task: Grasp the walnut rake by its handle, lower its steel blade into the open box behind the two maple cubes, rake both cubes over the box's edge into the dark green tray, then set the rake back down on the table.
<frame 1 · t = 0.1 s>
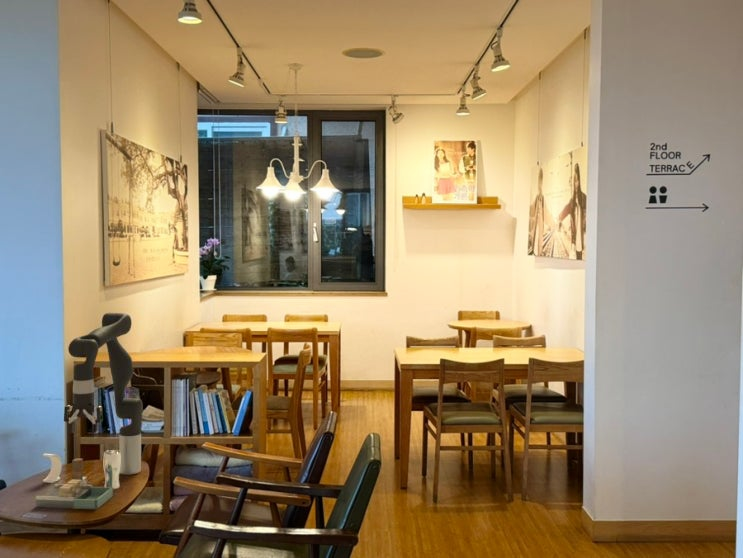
hand: (83, 432, 265), 29 cm above the table, fingers open, 8 cm apart
maple cube B: (66, 496, 270), point 3 cm above the table, touching open box
headphone stand: (52, 480, 297), on the table
beer glass: (112, 487, 290), on the table
chip tray: (94, 502, 272), on the table
rake tool: (77, 487, 289), on the table
open box: (64, 501, 273), on the table
maple cube A: (74, 491, 276), point 3 cm above the table, touching open box
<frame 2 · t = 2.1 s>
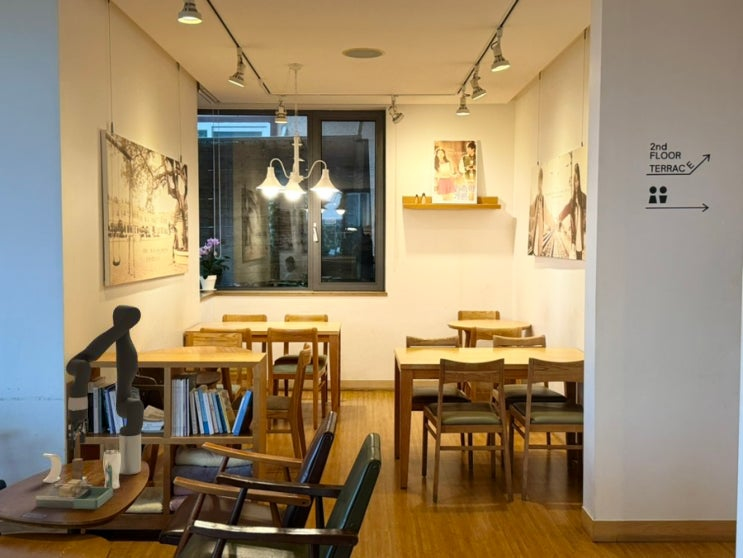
hand: (77, 445, 288), 18 cm above the table, fingers open, 8 cm apart
nothing on the table moved.
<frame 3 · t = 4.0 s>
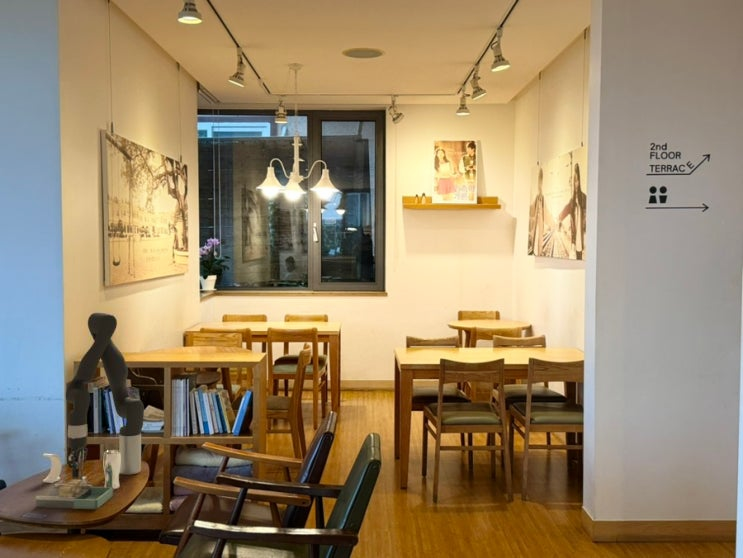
hand: (77, 475, 288), 5 cm above the table, fingers closed on rake tool, 3 cm apart
rake tool: (77, 487, 289), on the table, touching gripper
everything else where it was.
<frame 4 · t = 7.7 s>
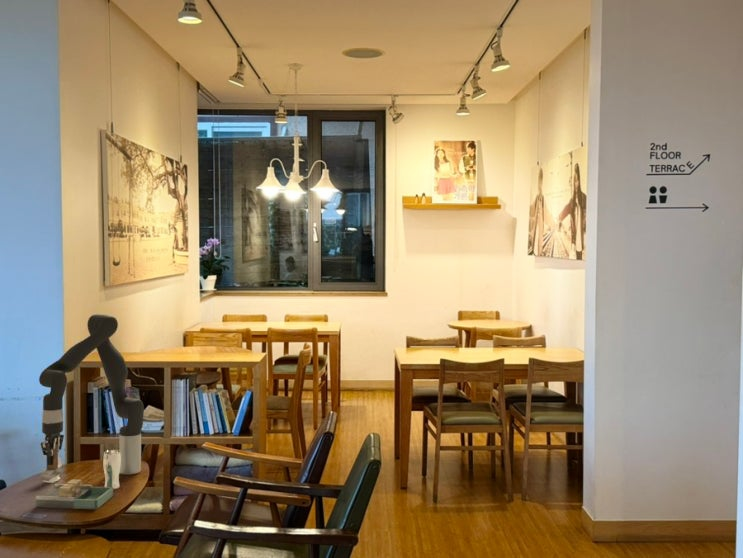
hand: (52, 463, 273), 15 cm above the table, fingers closed on rake tool, 3 cm apart
rake tool: (52, 476, 273), point 10 cm above the table, touching gripper
everything else where it was.
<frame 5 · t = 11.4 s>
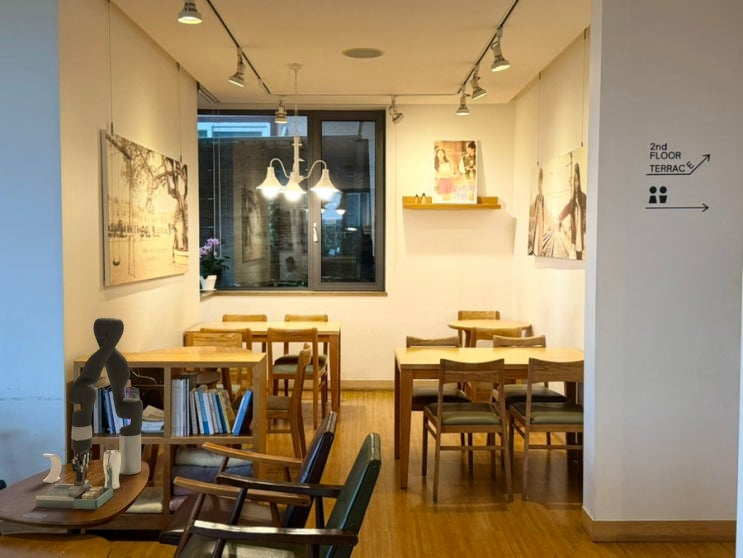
hand: (81, 479, 272), 9 cm above the table, fingers closed on rake tool, 3 cm apart
maple cube B: (84, 498, 269), point 2 cm above the table, tilted 90°, touching chip tray
rake tool: (78, 491, 273), point 4 cm above the table, touching gripper
maple cube A: (91, 493, 275), point 2 cm above the table, tilted 90°, touching chip tray
everything else where it was.
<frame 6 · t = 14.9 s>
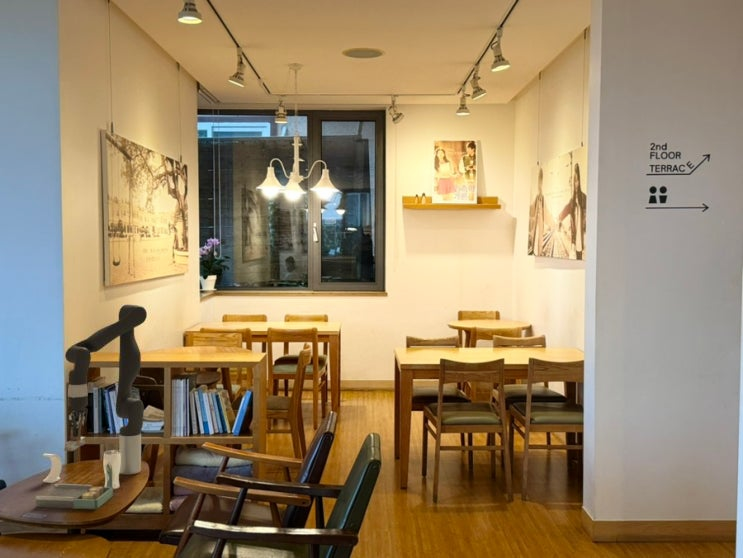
hand: (77, 435, 288), 22 cm above the table, fingers closed on rake tool, 3 cm apart
rake tool: (74, 447, 288), point 17 cm above the table, touching gripper
everything else where it was.
when the fingers open (7 cm above the table, at t = 17.9 s): rake tool drops 2 cm, on the table.
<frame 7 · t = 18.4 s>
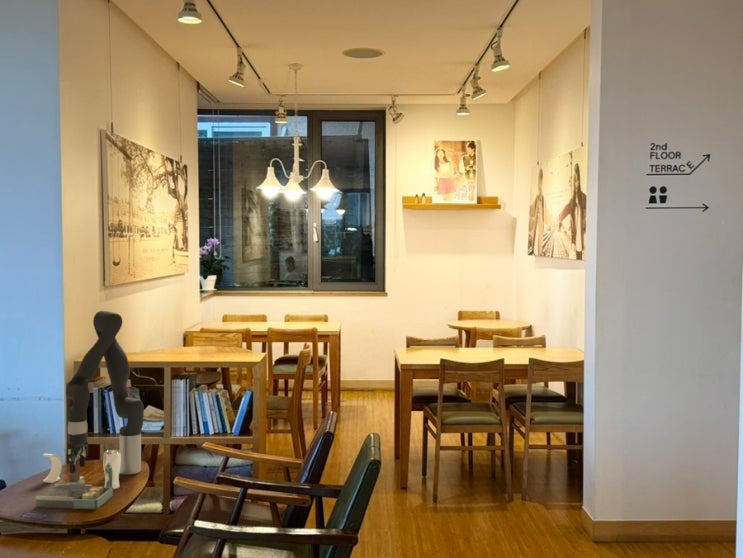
hand: (77, 469, 288), 8 cm above the table, fingers open, 8 cm apart
rake tool: (74, 487, 289), on the table
everything else where it was.
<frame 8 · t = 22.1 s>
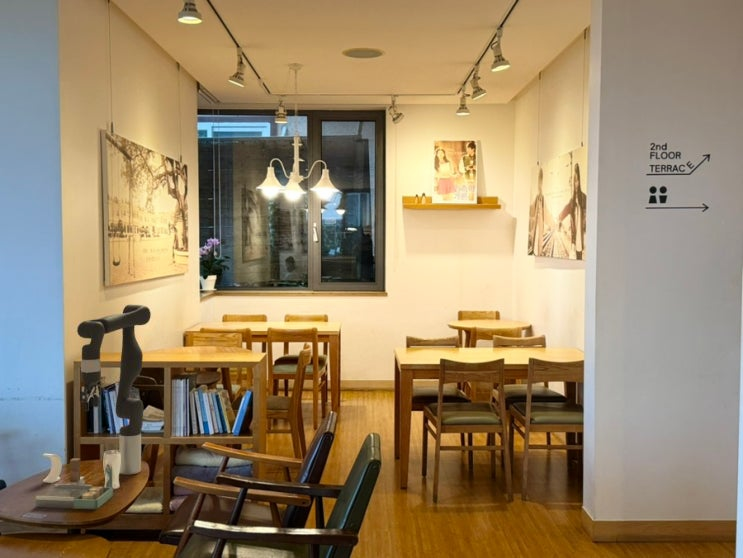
hand: (90, 408, 284), 34 cm above the table, fingers open, 8 cm apart
nothing on the table moved.
at the end: maple cube A inside the target area on the chip tray (3.9 cm from its centre), point 2.5 cm above the chip tray's base; maple cube B inside the target area on the chip tray (3.9 cm from its centre), point 2.5 cm above the chip tray's base; the gripper is holding nothing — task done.
